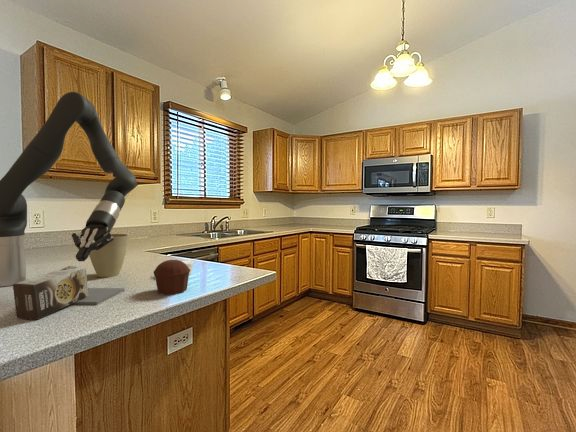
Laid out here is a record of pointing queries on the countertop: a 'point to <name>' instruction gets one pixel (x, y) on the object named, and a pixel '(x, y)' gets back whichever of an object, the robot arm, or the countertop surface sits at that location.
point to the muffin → (171, 277)
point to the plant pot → (110, 256)
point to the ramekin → (188, 264)
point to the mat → (98, 295)
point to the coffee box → (50, 292)
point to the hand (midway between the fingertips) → (79, 259)
